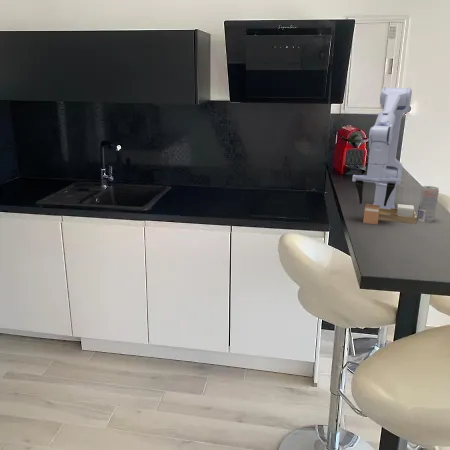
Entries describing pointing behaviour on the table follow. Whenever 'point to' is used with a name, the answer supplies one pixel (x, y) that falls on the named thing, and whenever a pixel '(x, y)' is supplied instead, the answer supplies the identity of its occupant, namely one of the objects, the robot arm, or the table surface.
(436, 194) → the energy drink
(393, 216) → the light wooden tray
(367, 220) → the brown cardboard box
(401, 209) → the white foam cube
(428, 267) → the table surface
